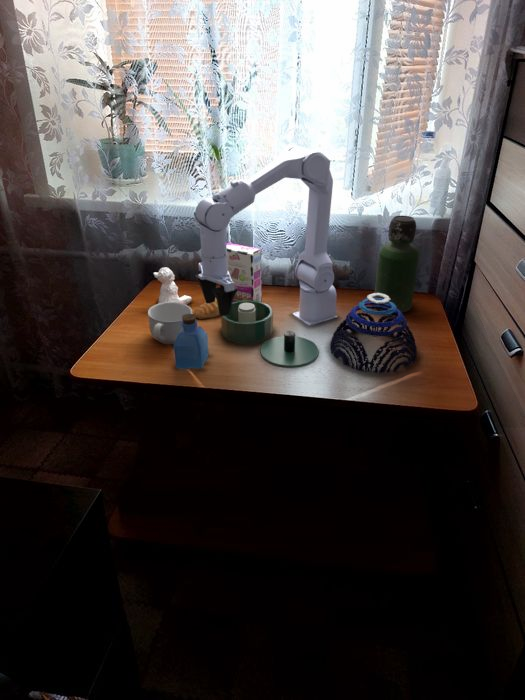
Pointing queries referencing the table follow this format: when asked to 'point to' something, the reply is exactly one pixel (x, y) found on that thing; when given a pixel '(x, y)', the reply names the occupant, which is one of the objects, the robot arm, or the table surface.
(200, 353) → the perfume bottle
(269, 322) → the pot
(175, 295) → the seated beast figurine
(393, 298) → the green bottle
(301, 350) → the lid
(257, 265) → the candy bar box
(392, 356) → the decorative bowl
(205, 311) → the pastry
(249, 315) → the salt shaker
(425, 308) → the table surface
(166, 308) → the teacup
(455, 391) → the table surface
